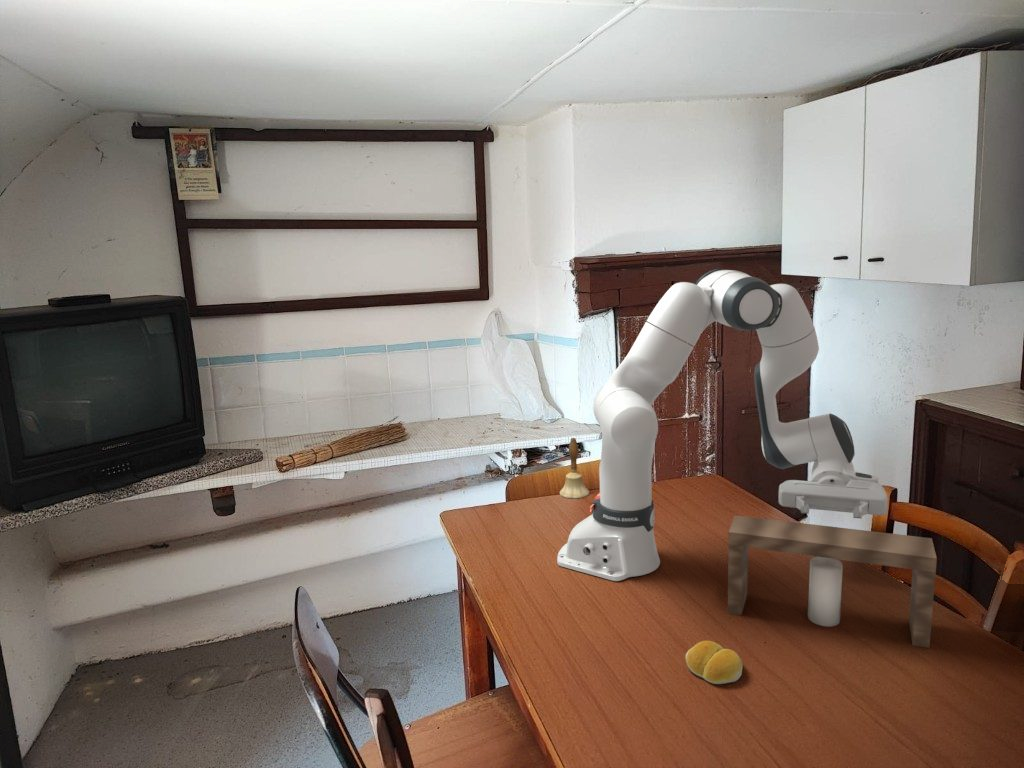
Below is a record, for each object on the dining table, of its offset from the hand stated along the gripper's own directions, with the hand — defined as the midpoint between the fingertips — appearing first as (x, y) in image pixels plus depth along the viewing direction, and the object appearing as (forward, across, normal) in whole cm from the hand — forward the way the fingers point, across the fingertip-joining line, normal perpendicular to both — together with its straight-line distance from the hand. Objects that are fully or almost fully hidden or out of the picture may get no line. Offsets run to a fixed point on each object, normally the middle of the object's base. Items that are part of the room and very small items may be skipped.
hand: (830, 512), depth 138 cm
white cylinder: (+13, -1, +15) cm, 20 cm away
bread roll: (+35, -17, +15) cm, 42 cm away
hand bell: (-32, -66, +15) cm, 74 cm away
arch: (+13, -1, +15) cm, 20 cm away
